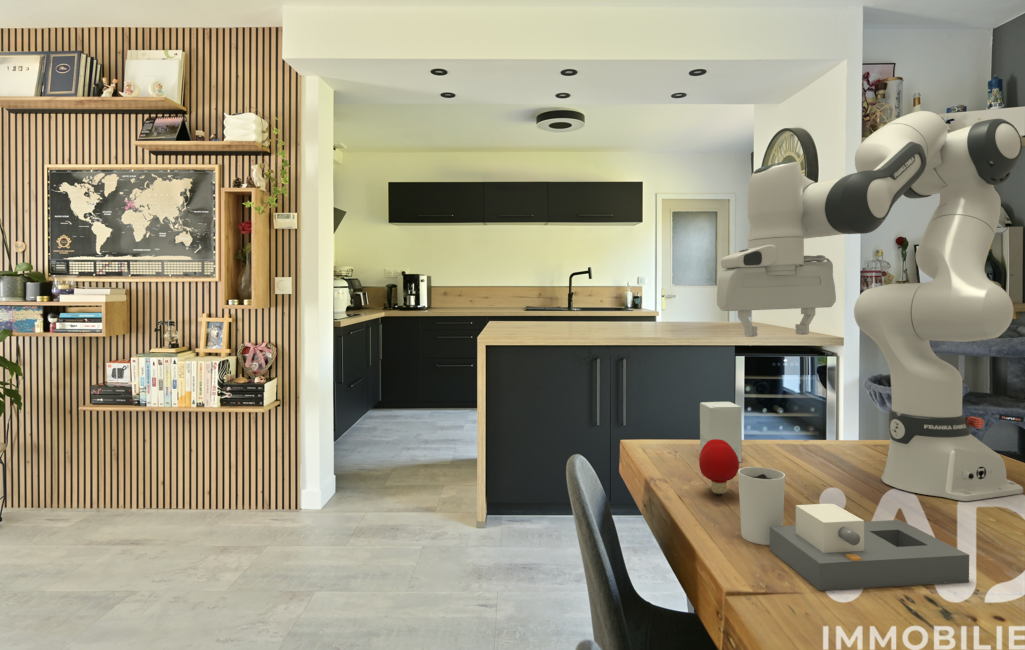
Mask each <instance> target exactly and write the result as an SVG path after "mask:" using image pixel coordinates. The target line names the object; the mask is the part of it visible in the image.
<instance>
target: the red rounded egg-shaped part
mask: <svg viewBox="0 0 1025 650" xmlns="http://www.w3.org/2000/svg"><path fill="white" fill-rule="evenodd" d="M699 454H700V455H699V457H698V463H699V465H698V466H699V470H700V473H701V474H702V476H704V477H705V478H706V479H708V480H709V481H710V482H711V488H710V489H711V491H712V492H713V493H714V494H715V495H716V496H722V495H723V494H725V493H726V492H727V489H728V488H727V484H728V481H731V480H733V479H734V478H735V477H736V476H737V475H738V470H739V469H740V462H739V460H738V457H737V455H736V453H735V451H734V450H733V448H732V447H731V446H730V445H729V444H728V443H727V442H726V441H724V440H720V439H712V440H710V441H708V442H707V443H706V444H705V445H704V447H703V448H702V450H701V453H699Z"/></svg>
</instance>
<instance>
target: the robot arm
mask: <svg viewBox="0 0 1025 650" xmlns="http://www.w3.org/2000/svg"><path fill="white" fill-rule="evenodd" d="M948 131H949V129H948V126H947V123H946V121H945V120H944V119H943V118H942V117H941V116H940V115H939V114H937V113H935V112H933V111H927V110H919V111H914V112H911V113H908V114H906V115H905V114H904V115H903V116H899V117H898V118H896V119H895V118H894V119H893V120H892V121H890V122H888V123H886V124H885V125H883V126H881V127H879V129H877V130H875V131H874V132H873V133H871V134H870V135H868V137H866V138H865V139H864V140H863V141H862V142H861V143H860V144H859V145H858V148H857V149H856V151H855V155H854V167H855V170H856V172H854V173H851V174H847V175H845V176H841V177H836V178H831V179H827V180H826V179H825V180H823V181H818V182H816V181H814V180H812V179H810V178H808V177H806V175H804V173H802V172H801V168H800V165H799V162H798V161H795V160H786V161H781V162H777V163H773V164H769V165H765V166H761V167H759V168H757V169H756V170H754V171H753V172H752V174H751V176H750V178H749V184H748V191H747V193H748V195H747V219H748V221H749V225H750V228H749V229H750V230H749V231H750V232H749V235H748V239H747V241H748V247H747V248H745V249H741V250H739V251H737V252H734V253H731V254H729V255H726V256H723V257H721V261H720V266H721V268H723V269H724V270H723V271H722V272H721V273H720V274H719V275H718V276H719V277H718V281H717V289H716V305H717V307H718V308H719V309H720V311H722V312H737V317H738V320H739V321H740V322H741V324H742V326H743V328H744V329H743V331H744V336H745V337H747V338H755V337H758V326H756V325H755V326H753V324H752V322H751V321H750V318H751V317H752V311H765V310H770V311H771V310H772V311H773V310H793V309H795V310H796V309H800V315H803V317H802V318H801V320H800V322H799V323H797V324H796V323H795V334H796V335H799V336H800V335H809V334H810V324H811V323H812V321H813V319H814V317H815V316H816V309H817V308H822V309H823V308H832V307H833V306H834V305H835V303H836V300H837V296H836V295H837V294H836V286H835V280H834V279H835V278H834V265H833V261H831V260H830V259H829V258H828V257H826V256H825V255H821V254H819V255H805V249H804V248H805V247H804V246H805V243H804V242H805V241H804V240H806V239H815V238H823V237H833V236H838V235H840V236H841V235H854V234H855V235H860V234H864V235H865V234H870V233H872V232H874V231H876V230H877V229H878V228H879V227H881V225H882V224H883V222H885V220H886V218H887V217H888V215H889V214H890V212H891V209H892V208H893V206H894V205H895V203H896V202H897V201H898V200H900V198H901V197H902V196H904V197H906V198H907V199H922V198H928V197H931V196H933V195H936V194H939V203H938V206H937V207H936V208H935V211H934V212H933V213H932V216H931V217H930V219H929V221H928V223H927V225H926V228H925V231H924V233H923V235H922V238H921V240H920V242H919V244H918V247H917V249H916V252H915V261H916V265H917V267H918V268H919V270H920V271H921V272H922V273H923V274H925V275H926V276H928V277H929V278H931V279H932V280H931V281H929V282H913V283H912V282H911V283H889V284H884V285H879V286H875V287H871V288H867V289H865V290H863V292H861V293H860V294H859V296H858V298H857V299H856V301H855V304H854V308H853V317H854V319H855V323H856V325H857V327H859V329H860V330H861V331H862V332H863V333H864V334H865V335H867V336H868V337H870V338H871V340H873V341H874V343H875V344H876V345H877V347H878V349H880V351H881V352H882V354H883V356H884V358H885V360H886V362H887V366H888V369H889V374H890V375H889V377H890V389H891V391H890V392H891V408H890V409H889V410H888V429H889V431H888V432H889V437H890V438H889V446H888V454H887V458H886V462H885V466H884V469H883V472H882V474H881V477H880V478H881V479H880V480H881V481H882V482H883V483H884V484H886V485H888V486H890V487H893V488H896V489H899V490H903V491H906V492H910V493H917V494H920V495H926V496H927V495H928V496H935V497H941V498H942V497H943V498H946V499H951V500H955V501H959V502H960V501H961V502H969V501H977V500H985V499H991V498H999V497H1006V496H1012V495H1018V494H1023V493H1024V488H1023V486H1022V485H1020V484H1019V483H1016V482H1015V481H1013V480H1011V479H1007V469H1006V464H1005V461H1004V459H1003V457H1001V455H1000V454H999V453H997V452H996V451H995V450H993V449H991V448H990V447H989V446H988V445H986V444H984V443H983V442H982V441H980V439H978V438H977V437H975V436H974V435H973V434H972V431H971V428H973V427H974V428H975V429H982V428H983V427H984V426H985V420H984V419H983V418H982V417H976V416H969V417H967V416H965V415H964V414H963V377H962V375H961V373H960V371H959V370H958V369H957V368H956V367H955V366H954V365H952V364H950V363H949V362H947V361H945V360H943V359H941V358H940V357H939V356H937V355H936V353H935V352H934V350H933V349H932V347H931V343H930V341H935V342H936V341H939V342H958V343H961V342H963V343H968V342H977V341H984V340H991V339H997V338H999V337H1000V336H1001V335H1002V334H1004V333H1005V332H1006V331H1007V330H1008V328H1009V327H1010V325H1011V324H1012V320H1013V318H1014V305H1013V301H1012V299H1011V297H1010V295H1009V294H1008V293H1007V292H1006V291H1005V289H1004V288H1002V287H1001V286H1000V285H998V284H996V283H994V282H993V281H991V280H990V279H989V277H988V276H987V274H986V272H985V268H986V266H985V265H986V261H987V258H988V256H989V251H990V248H991V246H992V243H993V241H994V238H995V236H996V232H997V229H998V225H999V221H1000V215H1001V205H1002V204H1001V203H1002V201H1001V197H1000V193H999V192H997V190H996V189H995V186H1000V185H1001V184H1004V182H1006V181H1007V180H1008V179H1009V177H1010V175H1011V172H1012V170H1013V169H1014V168H1015V166H1017V163H1018V161H1019V159H1020V156H1021V153H1022V149H1023V141H1022V138H1021V135H1020V132H1019V130H1018V129H1017V127H1015V126H1014V125H1013V124H1012V123H1011V122H1009V121H1007V119H1003V118H991V119H986V120H982V121H977V122H976V123H974V124H973V125H970V126H966V127H962V128H960V129H959V128H958V129H956V130H953V131H951V132H948ZM970 427H971V428H970Z"/></svg>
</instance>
